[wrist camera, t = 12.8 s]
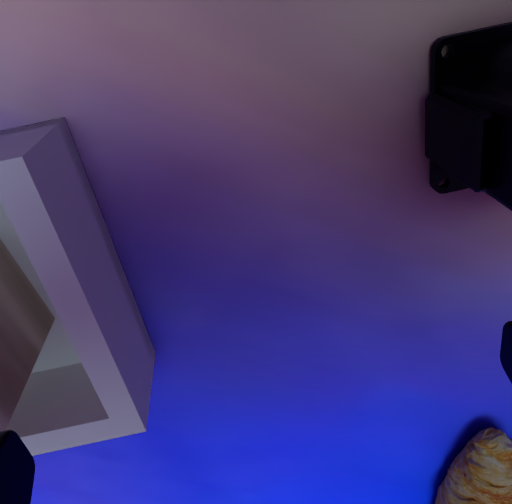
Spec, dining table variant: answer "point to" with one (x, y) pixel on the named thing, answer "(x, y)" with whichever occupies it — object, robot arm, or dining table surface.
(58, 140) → the box
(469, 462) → the croissant
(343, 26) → the dining table surface
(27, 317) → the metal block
